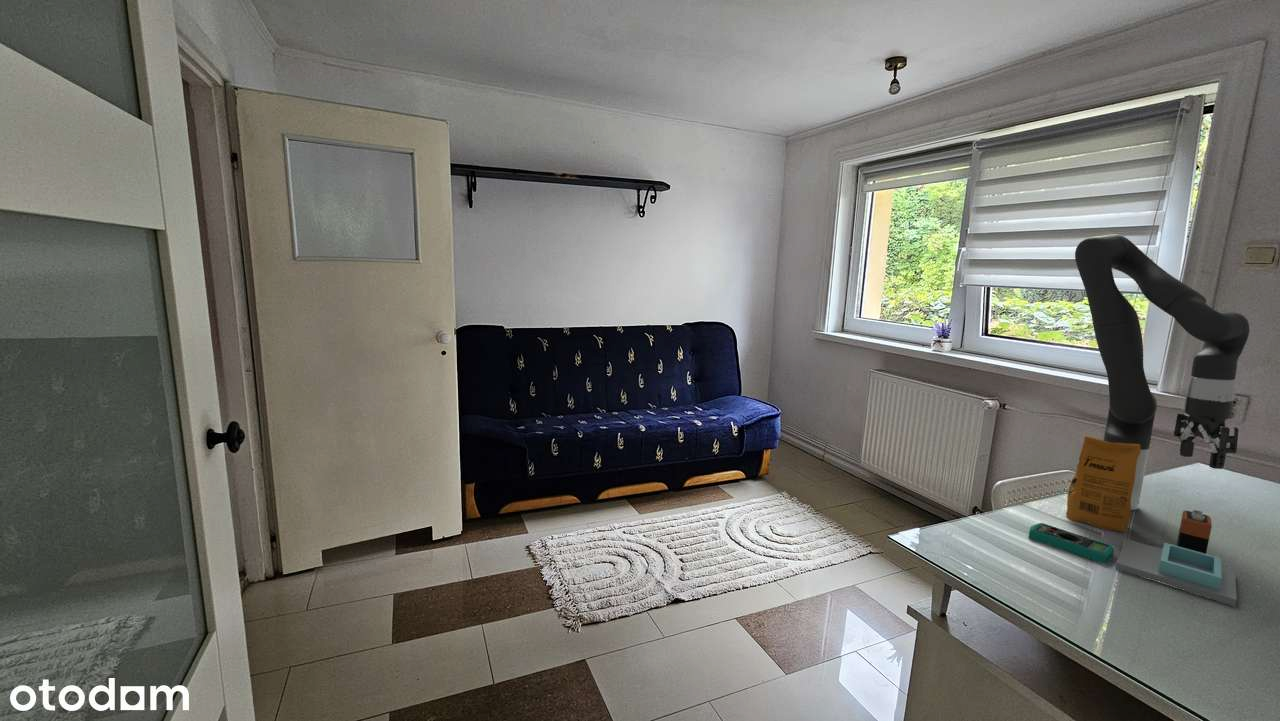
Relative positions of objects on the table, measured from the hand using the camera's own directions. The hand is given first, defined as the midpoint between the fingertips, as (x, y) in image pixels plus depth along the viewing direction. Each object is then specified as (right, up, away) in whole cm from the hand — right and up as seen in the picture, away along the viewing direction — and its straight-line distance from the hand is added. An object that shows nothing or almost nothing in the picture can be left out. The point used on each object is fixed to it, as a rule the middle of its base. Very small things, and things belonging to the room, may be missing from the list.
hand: (1200, 462), depth 125 cm
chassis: (-22, -21, -15) cm, 33 cm away
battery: (-10, -20, -7) cm, 23 cm away
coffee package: (-18, -17, +9) cm, 26 cm away
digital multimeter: (-35, -19, -4) cm, 40 cm away
